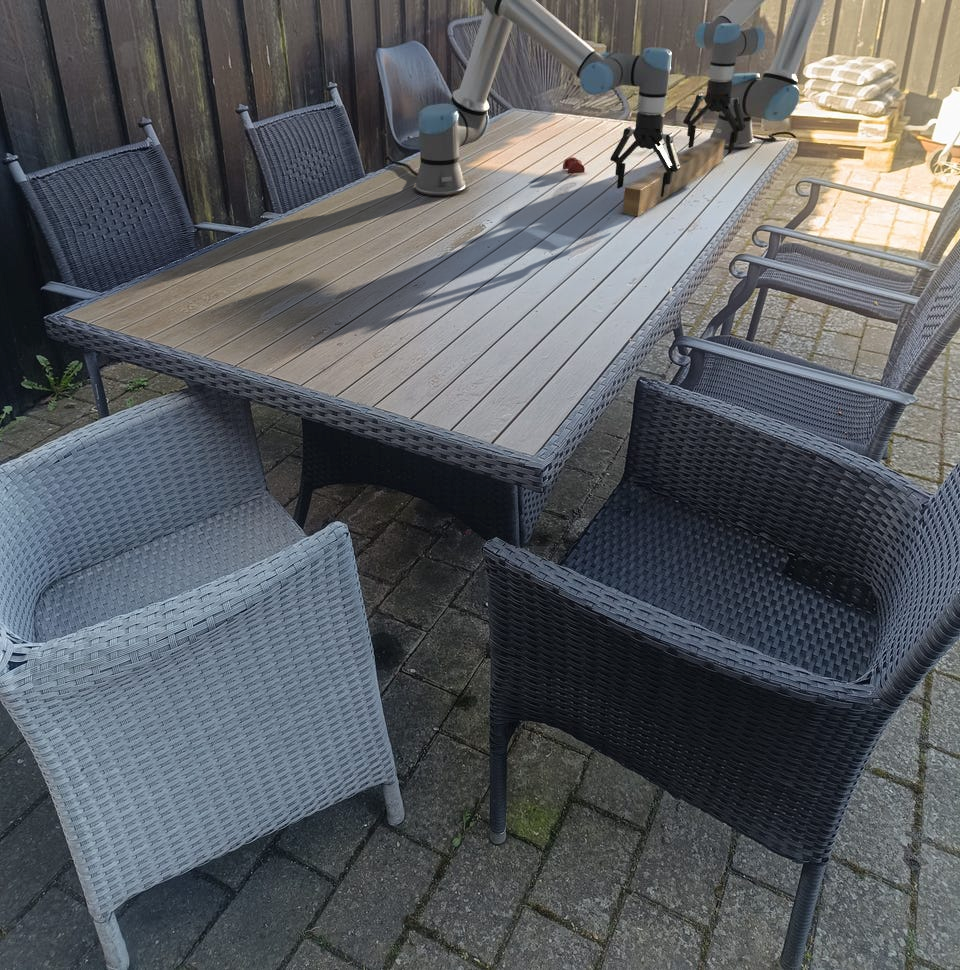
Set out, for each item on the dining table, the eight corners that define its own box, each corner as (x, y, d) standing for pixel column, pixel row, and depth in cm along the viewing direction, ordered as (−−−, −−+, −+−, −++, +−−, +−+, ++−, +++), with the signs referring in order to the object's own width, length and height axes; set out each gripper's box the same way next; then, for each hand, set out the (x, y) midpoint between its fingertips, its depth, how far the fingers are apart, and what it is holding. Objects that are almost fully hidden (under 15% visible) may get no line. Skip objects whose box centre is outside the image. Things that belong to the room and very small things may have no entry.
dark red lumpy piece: (577, 153, 276) (586, 160, 270) (577, 167, 278) (585, 173, 272) (561, 155, 275) (569, 162, 269) (561, 168, 277) (569, 175, 271)
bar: (637, 216, 238) (640, 190, 233) (622, 213, 240) (624, 187, 236) (721, 161, 284) (725, 139, 280) (708, 159, 287) (711, 137, 282)
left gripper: (699, 115, 225) (687, 195, 238) (615, 103, 236) (607, 181, 249) (689, 120, 220) (677, 202, 233) (603, 108, 231) (596, 187, 244)
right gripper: (763, 81, 262) (751, 152, 275) (687, 73, 273) (679, 142, 286) (755, 85, 257) (743, 157, 270) (678, 77, 268) (670, 147, 281)
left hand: (641, 191), depth 241 cm, fingers open, 13 cm apart
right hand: (710, 149), depth 278 cm, fingers open, 13 cm apart
